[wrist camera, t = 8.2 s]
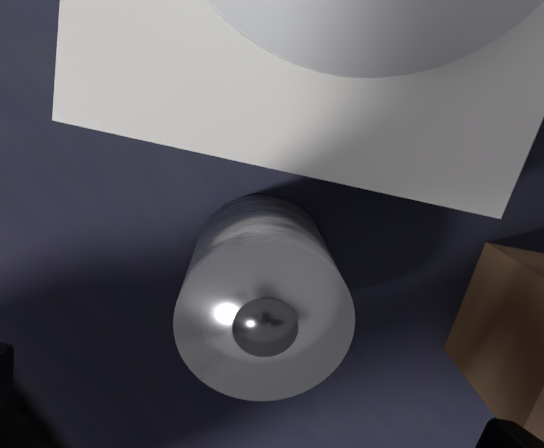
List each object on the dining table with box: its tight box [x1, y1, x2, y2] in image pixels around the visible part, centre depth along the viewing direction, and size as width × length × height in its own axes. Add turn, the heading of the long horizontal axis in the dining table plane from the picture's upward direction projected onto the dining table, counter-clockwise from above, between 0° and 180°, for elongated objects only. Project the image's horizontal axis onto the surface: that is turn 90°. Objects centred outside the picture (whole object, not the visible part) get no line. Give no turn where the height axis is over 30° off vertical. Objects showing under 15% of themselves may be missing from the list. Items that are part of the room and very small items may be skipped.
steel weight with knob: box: [173, 194, 355, 401], centre depth 12 cm, size 4×4×5 cm
